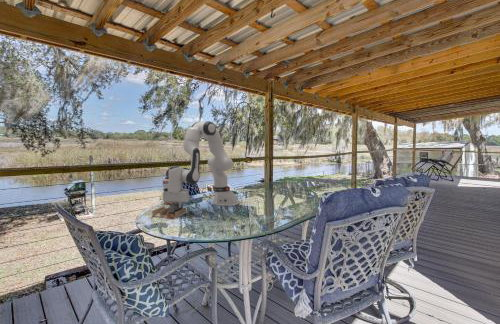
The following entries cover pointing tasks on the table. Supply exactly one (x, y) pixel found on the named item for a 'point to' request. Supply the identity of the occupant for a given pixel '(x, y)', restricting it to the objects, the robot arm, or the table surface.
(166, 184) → the cracker box
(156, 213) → the rack
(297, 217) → the table surface
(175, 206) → the blanking panel
